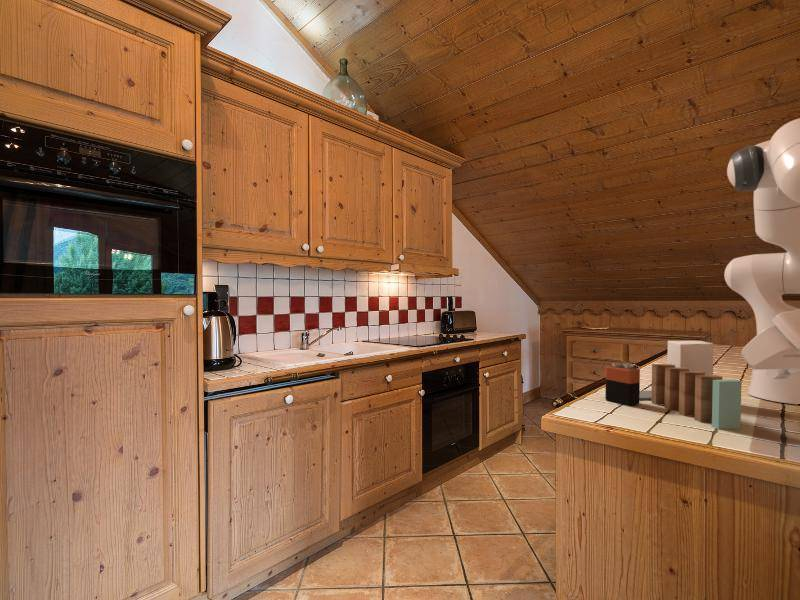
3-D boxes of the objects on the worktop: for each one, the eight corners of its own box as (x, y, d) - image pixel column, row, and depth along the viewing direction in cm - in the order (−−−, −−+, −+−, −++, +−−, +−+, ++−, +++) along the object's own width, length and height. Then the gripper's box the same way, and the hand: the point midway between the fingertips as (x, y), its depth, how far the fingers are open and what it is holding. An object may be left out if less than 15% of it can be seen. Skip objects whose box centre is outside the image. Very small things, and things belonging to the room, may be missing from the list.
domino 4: (715, 419, 90) (716, 375, 90) (721, 421, 89) (722, 376, 88) (694, 419, 90) (695, 375, 90) (700, 422, 88) (701, 376, 88)
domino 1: (669, 402, 104) (670, 364, 103) (674, 404, 102) (675, 365, 102) (651, 402, 103) (652, 364, 103) (655, 404, 102) (656, 365, 101)
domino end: (733, 426, 86) (734, 379, 86) (740, 428, 84) (741, 381, 84) (711, 426, 85) (712, 379, 85) (718, 429, 84) (719, 381, 83)
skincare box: (698, 397, 108) (699, 340, 108) (714, 404, 102) (716, 343, 101) (665, 396, 109) (666, 339, 109) (679, 403, 103) (680, 342, 102)
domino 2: (683, 407, 99) (684, 367, 99) (688, 409, 98) (689, 368, 97) (664, 408, 99) (665, 367, 99) (669, 410, 97) (670, 368, 97)
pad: (650, 392, 114) (650, 390, 114) (668, 399, 107) (668, 397, 107) (620, 393, 113) (620, 391, 113) (636, 400, 106) (637, 397, 106)
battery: (630, 406, 100) (631, 366, 100) (604, 400, 106) (605, 362, 105) (640, 404, 102) (640, 365, 102) (614, 398, 108) (614, 361, 108)
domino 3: (698, 413, 95) (699, 370, 94) (704, 415, 93) (705, 372, 93) (678, 413, 94) (679, 371, 94) (684, 415, 93) (685, 372, 92)
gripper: (878, 313, 68) (812, 361, 78) (768, 313, 66) (715, 362, 76) (913, 343, 64) (839, 389, 74) (797, 344, 62) (736, 392, 72)
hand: (775, 376), depth 75 cm, fingers closed
